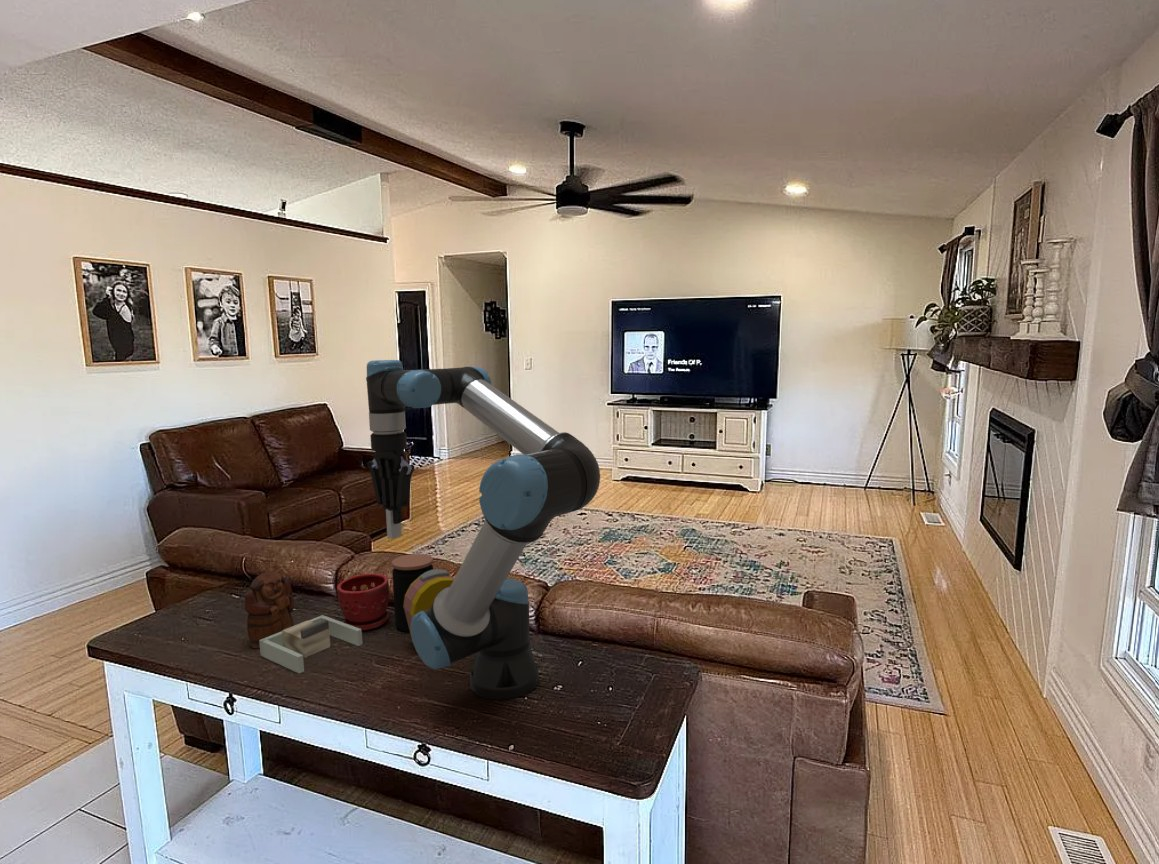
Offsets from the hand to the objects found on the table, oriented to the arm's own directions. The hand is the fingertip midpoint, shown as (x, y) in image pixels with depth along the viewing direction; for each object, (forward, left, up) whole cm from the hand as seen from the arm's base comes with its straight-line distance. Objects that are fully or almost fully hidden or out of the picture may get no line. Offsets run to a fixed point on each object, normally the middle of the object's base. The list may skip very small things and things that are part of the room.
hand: (394, 536), depth 146 cm
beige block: (+31, +4, -33) cm, 45 cm away
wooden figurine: (+42, +6, -33) cm, 54 cm away
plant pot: (+30, -13, -33) cm, 46 cm away
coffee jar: (+18, -20, -33) cm, 42 cm away
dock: (+28, +4, -32) cm, 43 cm away
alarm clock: (+5, -16, -33) cm, 37 cm away
